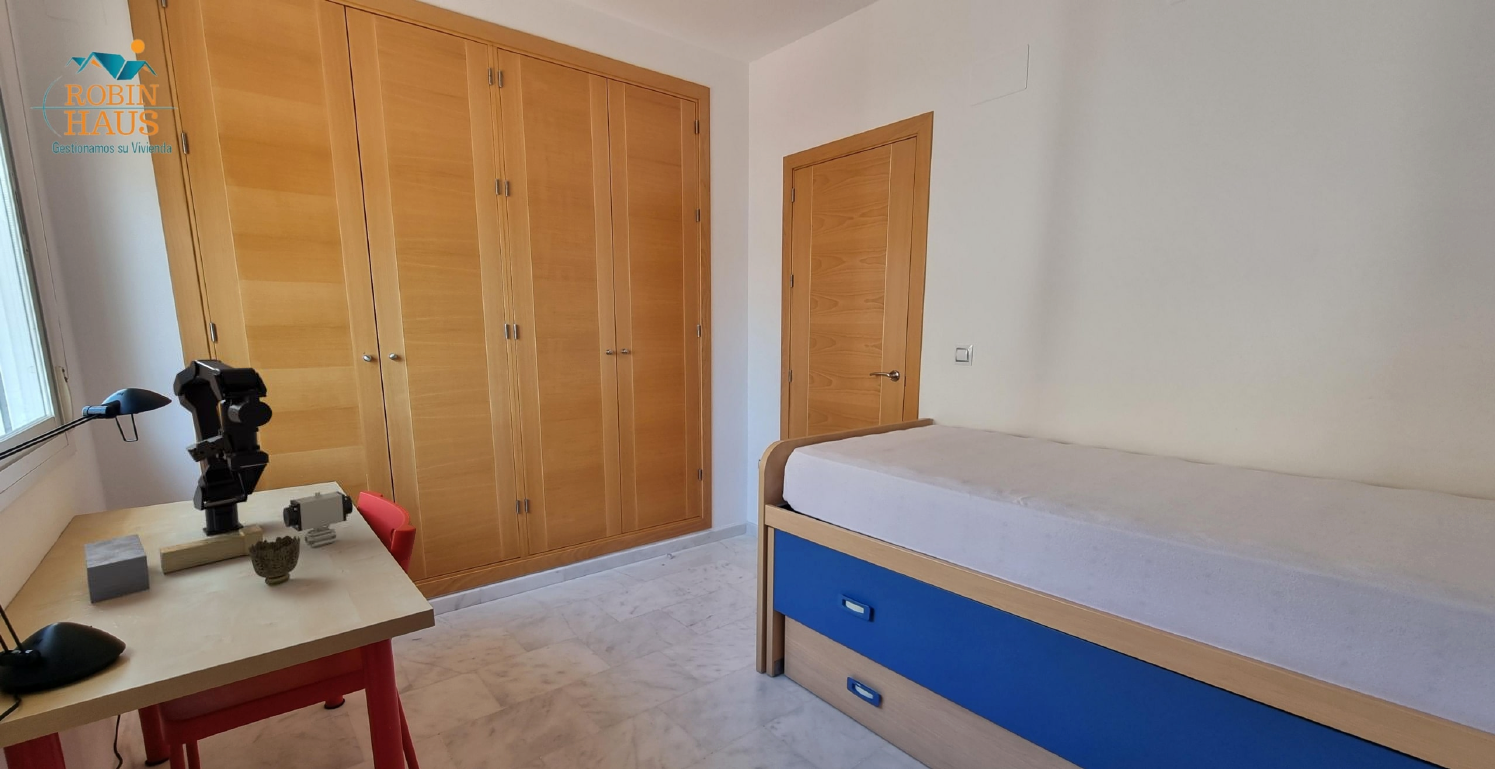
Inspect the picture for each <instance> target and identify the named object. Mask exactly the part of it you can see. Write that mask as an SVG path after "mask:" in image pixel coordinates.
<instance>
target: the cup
mask: <svg viewBox="0 0 1495 769" xmlns="http://www.w3.org/2000/svg"><path fill="white" fill-rule="evenodd" d="M300 546H301V538H300V536H298V537H297V536H296V535H294V536H293V537H292V536H290V535H288V534H287V535H285V536H283V537H281V536H277V537H276V538H275V540H274V541H269V542H268V540H267V539H263V542H261V541H258V542H257V543H256V545H255V546H254V545H253V544H252V545H251V548H250V547H249V552H250V555H249V556H250V561H251V564H252V568H253V571H254V572H255V574H257V576H259V577H260V578H263V579H264V583H265V584H266V585H268V586H278V585H281V584H284V583H287V581H289V579H290V578H291V575H290V573H291V572H292V571H293V570H295V569H296V566H297V565H298V564H299V563H298V562H299V557H300V556H299V555H300V548H301V547H300Z"/></svg>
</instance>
